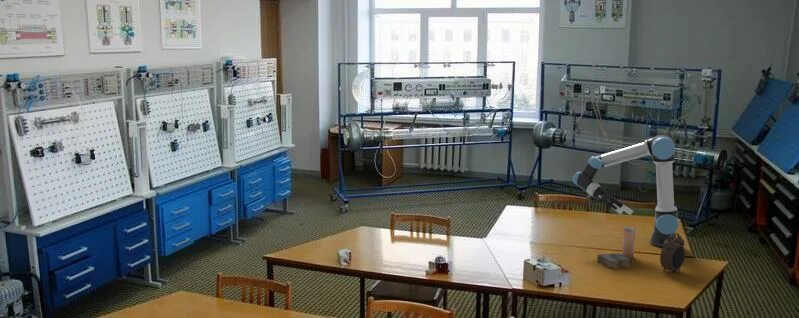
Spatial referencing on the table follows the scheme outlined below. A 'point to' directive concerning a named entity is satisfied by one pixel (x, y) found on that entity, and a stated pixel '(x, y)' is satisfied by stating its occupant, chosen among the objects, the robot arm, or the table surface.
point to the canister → (628, 242)
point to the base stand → (614, 260)
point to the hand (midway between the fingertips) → (627, 212)
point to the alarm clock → (673, 253)
